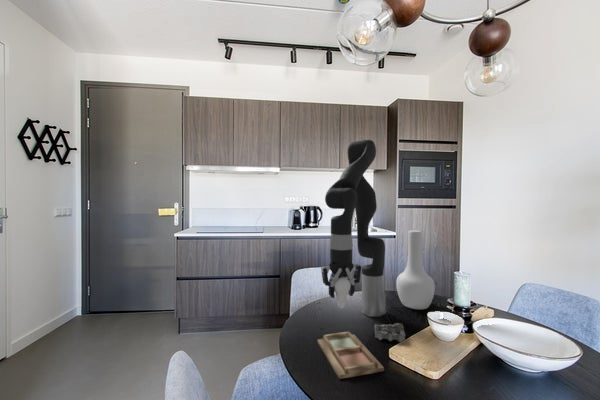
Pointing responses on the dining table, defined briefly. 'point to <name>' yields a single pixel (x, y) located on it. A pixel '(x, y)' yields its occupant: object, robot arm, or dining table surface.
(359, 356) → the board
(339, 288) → the lightbulb
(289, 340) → the dining table surface
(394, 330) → the egg carton
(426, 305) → the vase
